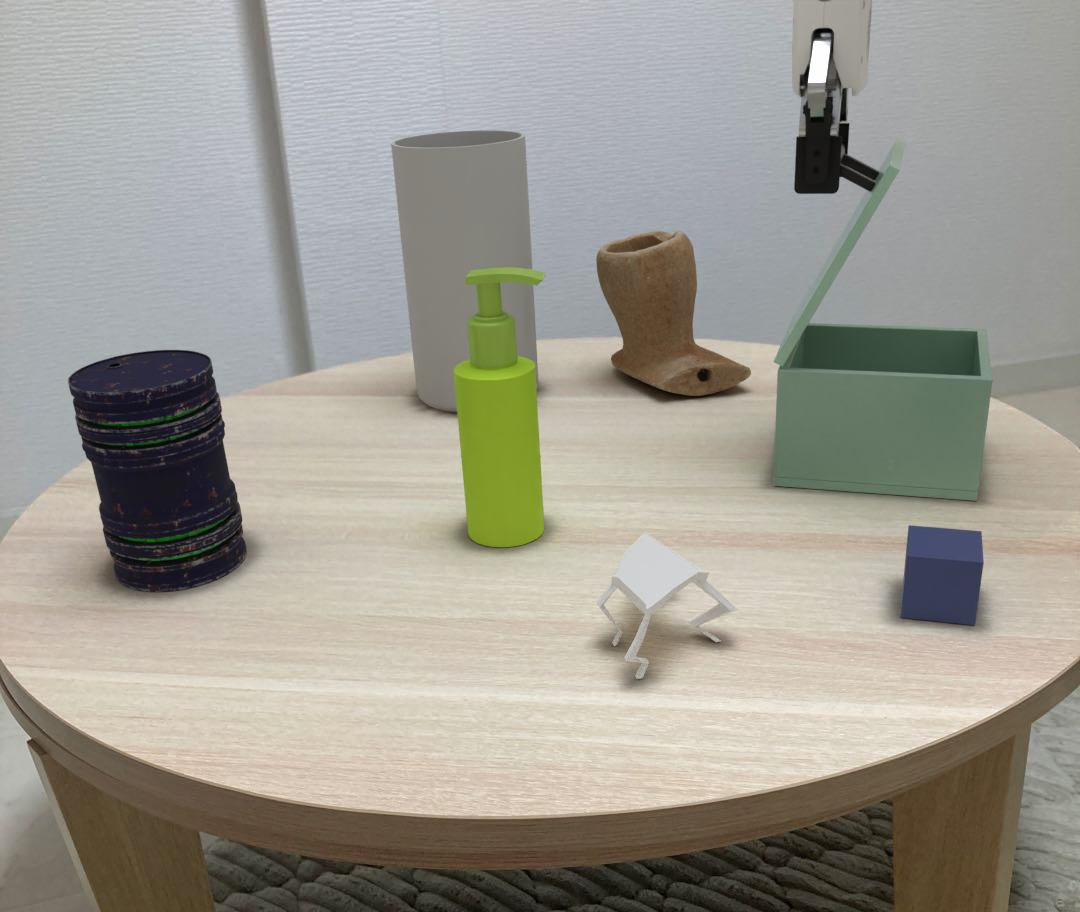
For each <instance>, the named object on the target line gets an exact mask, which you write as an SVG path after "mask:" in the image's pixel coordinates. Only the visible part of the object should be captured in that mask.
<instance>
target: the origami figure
mask: <svg viewBox="0 0 1080 912" xmlns="http://www.w3.org/2000/svg"><path fill="white" fill-rule="evenodd" d="M709 575H710V572H709V571H707V570H705V569H703V568H700V567H698V566H696V565H695V564H693V562H691V561H689V560H687V559H685V558H684V557H683V556H681V554H678V553H677V552H675V551H674V550H672V549H671V548H670V547H667V546H666V545H665V544H663V543H662V542H660V541H659V540H657V539H656V538H654V537H653V536H651V535H650V531H647V532H645V533H643V534H642V535H640V537H639V538H637V539H636V540H635V541H634V542H633V543H632V544H631V545H630V546H628V548H627V549H626V550H625V551H624V553H623V555H622V557H621V559H620V561H619V564H618V567H617V570H616V572H615V573H614V574H613V575H611V581H610V585H609V586H608V588H607V589H606V590H605V591H604V592H603V594H602V595H601V596H600V597H599V598H598V600H597V601H596V605H597V606H598V607H599V609H600V610H601V611H602V612H603V614H604V615H605V616H606V618H607V619H608V620H609V621H610V622H611V624H612V626H614V628H615V629H616V630H617V632H616V634H615V636H614V638H613V640H612V642H611V644H612V645H613V646H614V647H615V646H616V647H617V645H618V644H619V641H620V640H621V637H622V635H623V630H622V629H621V628H620V626H619V625H618V624H617V622H616V620H615V619H614V618H613V616H612V615H611V613H610V611H609V610H608V609H607V607H606V605H605V604H606V603H607V601H608V600H609V599H610V598H611V596H612V595H613V594H614V592H615V591H616V590H617V589H618V590H619V591H620V592H621V593H622V594H623V596H626V597H627V599H628V600H629V601H630V602H632V604H634V606H636V608H638V610H639V611H641V613H643V614H644V615H643V618H642V620H641V622H640V624H639V627H638V630H637V632H636V634H635V637H634V639H633V640H632V643H631V645H630V646H629V648H628V650H627V652H626V654H625V655H624V660H625V662H629V663H639V664H640V666H639V668H638V669H637V671H636V673H635V675H634V677H635V678H636V680H641V679H644V676H645V674H646V672H647V669H648V666H649V664H650V661H649V660H648V658H646V657H638V656H637V655H638V653H639V650H640V648H641V645H642V644H643V641H644V639H645V636H646V633H647V629H648V627H649V624H650V620H651V617H652V615H653V614H655V612H657V611H658V610H659V609H660V608H661V607H663V606H664V605H665V604H666V603H667V602H668V601H669V600H671V598H673V597H674V596H675V595H676V594H678V593H679V592H680V591H682V590H683V589H684V588H686V587H687V586H689V585H690V584H694V585H695V586H697V587H698V588H699V589H700V590H702V591H703V592H704V593H706V594H707V595H708V596H710V597H711V598H712V599H713V600H714V601H716V602H717V603H718V604H716V605H714V606H712V607H711V608H710V609H708V610H706V611H705V612H703V613H702V614H700V615H698V616H697V617H695V618H694V619H692V620H690V621H689V622H688V624H689V625H690V626H692V627H694V628H695V629H696V630H698V631H699V632H700V633H702V634H703V635H705V636H706V637H708V638H710V640H712V641H714V642H715V643H720V642H722V640H721V639H719V638H718V637H716V636H715V635H714V634H712V633H710V632H709V631H707V630H706V629H704V628H703V627H702V625H703V624H706V623H709V622H711V621H714V620H716V619H718V618H721V617H723V616H725V615H728V614H731V613H733V612H736V611H738V610H739V608H737V607H736V606H735V605H734V604H733V603H732V602H730V600H728V599H727V598H726V597H725V596H724V595H723V594H722V593H720V591H719V590H717V589H716V588H715V587H714V586H713V585H712V584H711V583H709V581H708V580H707V579H708V577H709Z"/></svg>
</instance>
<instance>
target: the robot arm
mask: <svg viewBox="0 0 1080 912" xmlns="http://www.w3.org/2000/svg"><path fill="white" fill-rule="evenodd" d="M792 4H793V6H792V7H793V9H792V37H791V38H792V40H791V41H792V44H791V45H792V47H791V77H792V80H791V81H792V83H791V84H792V91H793V93H794V94H795V95H796V96H797V97H799V98H801V101H800V112H799V122H798V136H796V139H795V140H796V141H795V161H794V162H795V163H794V183H793V184H794V186H793V190H794V193H796V194H798V195H814V194H815V195H832V194H833V195H834V194H836V193H838V191H839V189H840V178H842V177H841V176H840V162H841V146H842V143H843V144H844V147H845V154H847V155H849V154H848V153H849V140H850V122H848V117H849V115H848V114H849V89H851V96H853V97H856V96H858V95H859V94H861V93H862V91H864V89H865V87H866V86H867V85H868V80H869V61H870V60H869V59H870V58H869V56H870V42H871V41H870V40H871V26H872V9H873V0H793V3H792ZM846 167H847V166H846Z"/></svg>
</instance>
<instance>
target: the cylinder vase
mask: <svg viewBox="0 0 1080 912" xmlns="http://www.w3.org/2000/svg"><path fill="white" fill-rule="evenodd" d="M390 149H391V156H392V166H393V176H394V186H395V194H396V195H395V196H396V204H397V205H396V206H397V215H398V223H399V235H400V244H401V252H402V263H403V272H404V281H405V283H404V284H405V291H406V301H407V309H408V311H407V312H408V320H409V330H410V339H411V350H412V357H413V358H412V359H413V368H414V369H413V370H414V379H415V389H416V394H417V396H418V398H419V400H420V401H421V402H422V403H424V404H425V405H427V406H429V407H431V408H433V409H435V410H440V411H445V412H451V413H457V403H456V392H455V381H454V368H455V367H456V366H457V365H458V364H459V363H461V362H463V361H466V360H469V359H470V351H469V339H468V327H467V320H468V319H469V318H470V317H472V316H474V314H476V313H478V302H477V289H476V284H473V285H466V279H465V277H466V276H467V275H468V273H469V272H470V271H471V270H479V269H488V268H500V267H516V268H525V269H531V270H533V254H532V238H531V237H532V236H531V235H532V234H531V220H530V219H531V218H530V217H531V216H530V200H529V199H530V198H529V197H530V196H529V182H528V164H527V163H528V161H527V145H526V133H524V132H520V131H514V130H496V129H494V130H493V129H489V130H488V129H484V130H483V129H481V130H480V129H479V130H477V129H476V130H475V129H474V130H457V131H456V130H455V131H443V132H434V133H425V134H418V135H411V136H406V137H402V138H399V139H395V140H393V141H392V142H391V143H390ZM500 286H501V300H502V311H505V312H507V314H510V315H512V316H513V317H514V319H515V331H516V346H517V356H520V357H525V358H528V359H530V360H532V361H533V362H534V363H535V372H536V389H537V390H538V388H539V382H540V381H539V365H538V364H539V363H538V348H537V347H538V346H537V344H538V343H537V330H536V327H537V326H536V311H535V310H536V309H535V308H536V307H535V291H534V285H531V284H525V283H517V282H503V283H500Z"/></svg>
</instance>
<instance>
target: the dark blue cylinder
mask: <svg viewBox="0 0 1080 912" xmlns="http://www.w3.org/2000/svg"><path fill="white" fill-rule="evenodd" d="M213 375H214V367H213V363H212V359H211V357H210V356H209V355H207V354H205V353H203V352H200V351H199V352H198V351H195V350H187V349H156V350H155V349H154V350H145V351H137V352H131V353H126V354H121V355H116V356H112V357H107V358H104V359H101V360H98V361H95V362H92V363H90V364H86V365H85V366H82V367H81V368H79V369H77V370H75V371H74V372H72V373H71V374H70V376H69V377H68V379H67V384H68V389H69V393H70V395H71V396H72V397H73V399H72V405H73V408H74V412H75V415H74V420H75V423H76V427H77V431H78V434H79V436H80V438H81V442H82V443H81V448H82V451H84V453H85V454H84V455H85V457H86V459H87V460H88V461H89V462H90V463H91V467H92V472H93V475H94V480H95V483H96V487H97V491H98V495H99V500H100V503H99V505H98V511H99V515H100V520H101V523H102V533H103V537H104V541H105V545H106V547H107V549H108V550H109V556H110V558H111V559H112V561H113V571H114V575H115V578H116V580H117V581H118V582H119V583H120V584H121V585H123V586H124V587H127V588H129V589H132V590H135V591H142V592H151V593H153V592H154V593H155V592H156V593H159V592H174V591H180V590H186V589H190V588H194V587H200V586H202V585H205V584H209V583H211V582H214V581H216V580H218V579H220V578H222V577H224V576H226V575H228V574H230V573H232V572H233V571H235V569H237V568H238V567H239V566H241V564H242V563H243V562H244V561H245V559H246V557H247V554H248V549H247V544H246V541H245V539H244V537H243V535H244V528H243V515H242V514H243V513H242V509H241V504H240V502H239V500H238V492H237V490H236V484H235V482H234V480H233V479H232V478H231V476H230V471H229V466H228V461H227V455H226V450H225V445H224V438H225V435H226V432H225V427H226V423H225V420H224V419H223V414H222V413H223V407H222V402H221V396H220V393H219V392H218V389H217V383H216V379H215V377H214V376H213Z"/></svg>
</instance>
